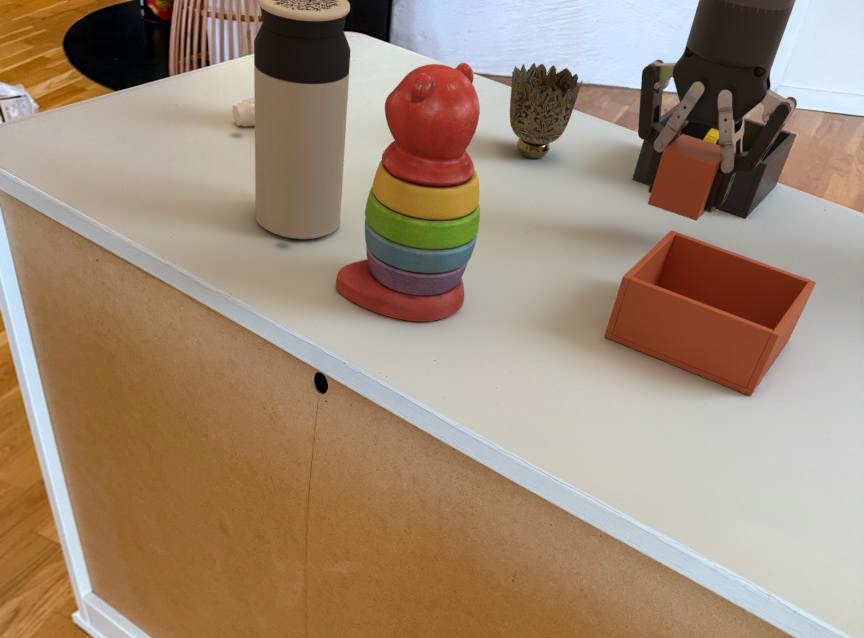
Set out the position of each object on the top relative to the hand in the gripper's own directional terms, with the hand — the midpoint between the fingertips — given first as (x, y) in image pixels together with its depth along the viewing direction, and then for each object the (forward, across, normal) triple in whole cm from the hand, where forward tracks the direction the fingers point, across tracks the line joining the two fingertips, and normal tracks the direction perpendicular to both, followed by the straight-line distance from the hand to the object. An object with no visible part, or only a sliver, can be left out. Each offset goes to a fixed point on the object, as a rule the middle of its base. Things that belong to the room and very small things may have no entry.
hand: (682, 199), depth 88 cm
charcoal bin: (+5, +2, -18) cm, 19 cm away
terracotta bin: (+5, -9, +15) cm, 18 cm away
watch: (+4, +2, -18) cm, 19 cm away
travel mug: (+4, +29, +22) cm, 37 cm away
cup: (+4, +20, -10) cm, 23 cm away
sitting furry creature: (+4, +43, +5) cm, 44 cm away
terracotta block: (0, 0, 0) cm, 0 cm away
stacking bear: (+4, +14, +26) cm, 30 cm away
